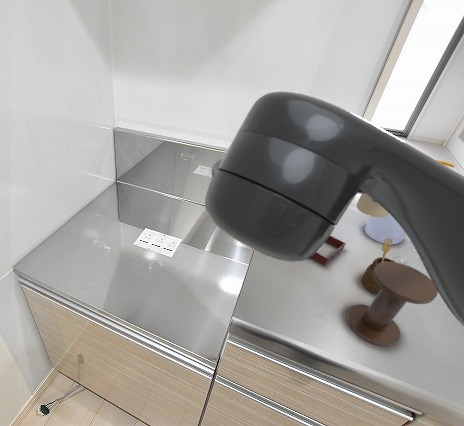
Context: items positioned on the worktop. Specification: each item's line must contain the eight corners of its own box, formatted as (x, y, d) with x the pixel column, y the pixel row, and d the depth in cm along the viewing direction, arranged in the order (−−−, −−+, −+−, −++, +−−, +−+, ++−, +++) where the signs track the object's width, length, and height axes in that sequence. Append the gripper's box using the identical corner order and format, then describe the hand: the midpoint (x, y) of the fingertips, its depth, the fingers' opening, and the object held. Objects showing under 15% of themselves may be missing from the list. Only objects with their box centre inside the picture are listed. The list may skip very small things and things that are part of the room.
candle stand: (405, 329, 59) (445, 283, 51) (387, 356, 55) (427, 309, 47) (357, 300, 65) (386, 254, 57) (337, 322, 61) (365, 276, 53)
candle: (349, 205, 61) (370, 161, 55) (370, 200, 63) (392, 157, 57) (373, 220, 57) (398, 174, 51) (394, 214, 58) (421, 169, 52)
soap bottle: (398, 251, 78) (451, 170, 64) (359, 234, 84) (399, 157, 70) (408, 237, 82) (459, 159, 68) (370, 222, 88) (410, 147, 74)
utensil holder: (369, 296, 66) (394, 258, 59) (353, 275, 71) (375, 238, 64) (396, 297, 66) (424, 258, 59) (378, 275, 71) (403, 238, 64)
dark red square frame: (342, 250, 78) (346, 243, 77) (324, 266, 74) (327, 259, 72) (308, 232, 85) (310, 225, 83) (289, 246, 80) (291, 239, 79)
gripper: (353, 181, 46) (450, 174, 47) (303, 145, 58) (382, 141, 59) (335, 219, 50) (425, 212, 52) (292, 179, 62) (366, 174, 63)
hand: (402, 174), depth 55 cm, fingers closed on candle, 5 cm apart
